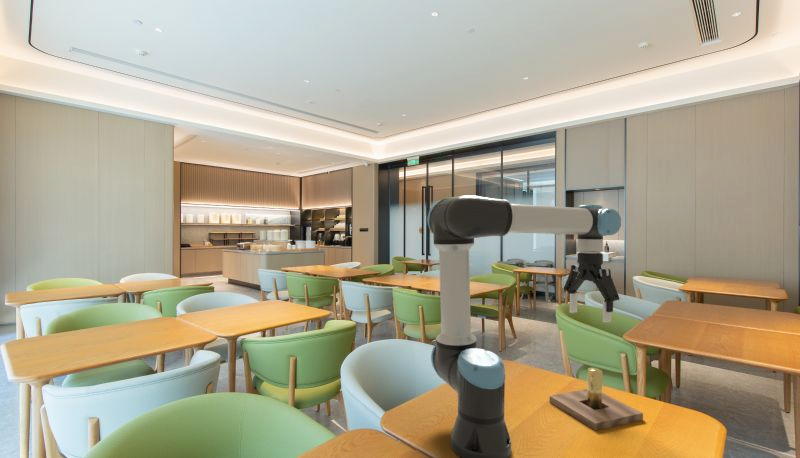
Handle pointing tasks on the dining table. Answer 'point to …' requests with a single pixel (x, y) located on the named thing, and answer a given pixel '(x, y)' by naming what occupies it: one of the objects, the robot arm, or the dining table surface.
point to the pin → (594, 388)
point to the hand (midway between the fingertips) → (589, 317)
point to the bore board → (600, 418)
